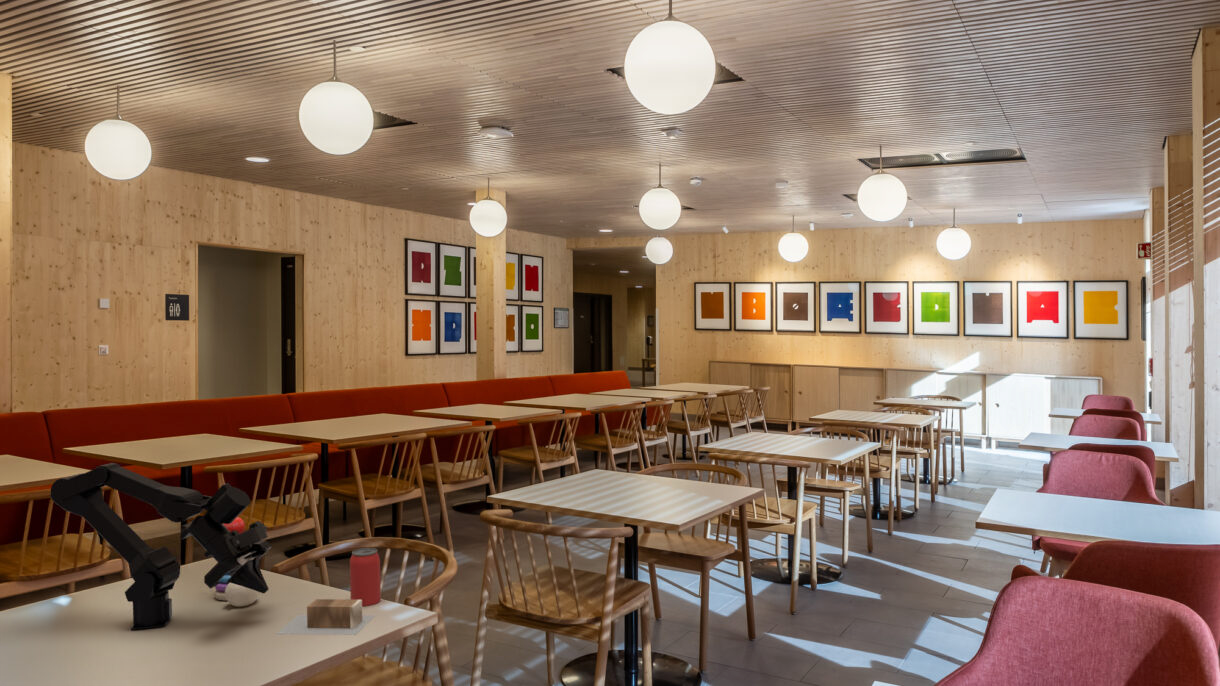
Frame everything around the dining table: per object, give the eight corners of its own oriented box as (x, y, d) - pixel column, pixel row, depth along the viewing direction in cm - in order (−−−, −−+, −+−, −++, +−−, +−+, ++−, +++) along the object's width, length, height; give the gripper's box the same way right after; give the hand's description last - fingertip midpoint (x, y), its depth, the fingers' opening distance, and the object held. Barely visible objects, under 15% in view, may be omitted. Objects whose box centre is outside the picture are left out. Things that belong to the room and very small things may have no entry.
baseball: (233, 600, 188) (233, 572, 187) (264, 600, 187) (263, 572, 187) (218, 611, 181) (217, 581, 181) (250, 611, 180) (249, 581, 180)
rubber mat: (275, 635, 166) (275, 633, 166) (299, 616, 177) (299, 614, 176) (356, 636, 164) (356, 634, 164) (375, 617, 175) (375, 615, 175)
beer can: (386, 600, 186) (385, 548, 186) (367, 610, 180) (365, 556, 180) (364, 597, 189) (363, 545, 188) (344, 606, 183) (343, 553, 182)
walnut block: (306, 606, 168) (353, 606, 168) (316, 599, 173) (361, 599, 172) (307, 627, 168) (354, 628, 168) (316, 620, 173) (362, 620, 172)
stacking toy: (242, 601, 187) (239, 521, 186) (207, 602, 187) (205, 521, 186) (257, 590, 195) (255, 513, 194) (224, 590, 195) (222, 513, 194)
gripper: (219, 521, 162) (273, 577, 162) (263, 503, 181) (311, 553, 180) (180, 560, 163) (234, 616, 162) (228, 538, 181) (276, 588, 181)
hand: (266, 591), depth 171 cm, fingers closed
